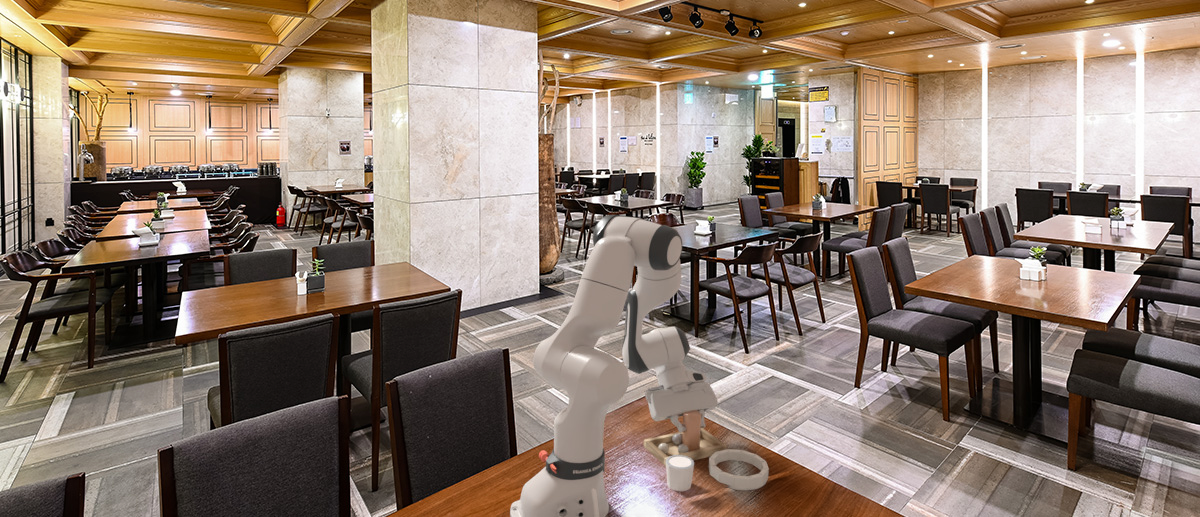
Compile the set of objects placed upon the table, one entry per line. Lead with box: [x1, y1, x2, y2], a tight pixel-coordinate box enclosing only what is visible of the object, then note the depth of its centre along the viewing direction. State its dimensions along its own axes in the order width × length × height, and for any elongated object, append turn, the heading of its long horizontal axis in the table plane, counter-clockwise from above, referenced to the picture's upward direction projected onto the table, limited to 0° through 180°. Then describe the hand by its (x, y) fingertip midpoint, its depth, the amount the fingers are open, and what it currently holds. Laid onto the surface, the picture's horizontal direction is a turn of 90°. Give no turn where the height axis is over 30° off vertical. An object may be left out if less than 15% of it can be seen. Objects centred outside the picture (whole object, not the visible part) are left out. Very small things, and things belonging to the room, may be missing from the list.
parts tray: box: [643, 428, 728, 467], centre depth 167 cm, size 19×12×3 cm, turn 115°
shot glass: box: [665, 455, 695, 492], centre depth 149 cm, size 7×7×7 cm
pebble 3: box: [678, 444, 689, 454], centre depth 164 cm, size 3×3×3 cm
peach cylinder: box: [682, 410, 701, 452], centre depth 167 cm, size 5×5×10 cm
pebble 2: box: [672, 434, 682, 445], centre depth 170 cm, size 3×3×3 cm
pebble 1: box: [658, 443, 669, 454], centre depth 164 cm, size 3×3×3 cm
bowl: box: [708, 448, 770, 492], centre depth 156 cm, size 14×14×3 cm
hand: (693, 429), depth 167 cm, fingers closed on peach cylinder, 5 cm apart
